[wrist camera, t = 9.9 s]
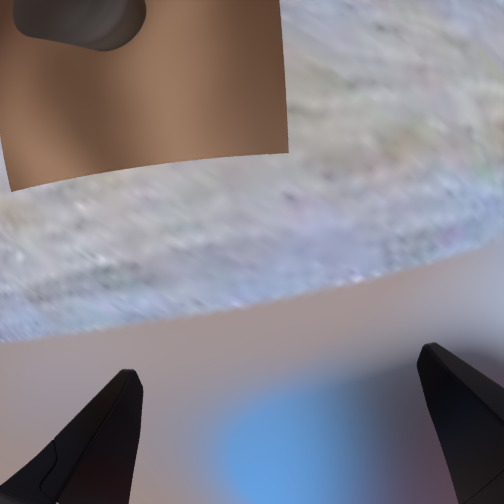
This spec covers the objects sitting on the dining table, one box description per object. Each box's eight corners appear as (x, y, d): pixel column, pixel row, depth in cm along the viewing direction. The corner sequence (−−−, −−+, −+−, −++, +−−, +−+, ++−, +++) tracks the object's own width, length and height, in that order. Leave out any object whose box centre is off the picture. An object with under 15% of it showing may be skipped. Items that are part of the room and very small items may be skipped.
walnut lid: (264, -105, 8) (275, -174, 2) (285, 149, 14) (313, 184, 9) (11, -37, 8) (-55, -57, 2) (21, 186, 14) (-51, 231, 9)
